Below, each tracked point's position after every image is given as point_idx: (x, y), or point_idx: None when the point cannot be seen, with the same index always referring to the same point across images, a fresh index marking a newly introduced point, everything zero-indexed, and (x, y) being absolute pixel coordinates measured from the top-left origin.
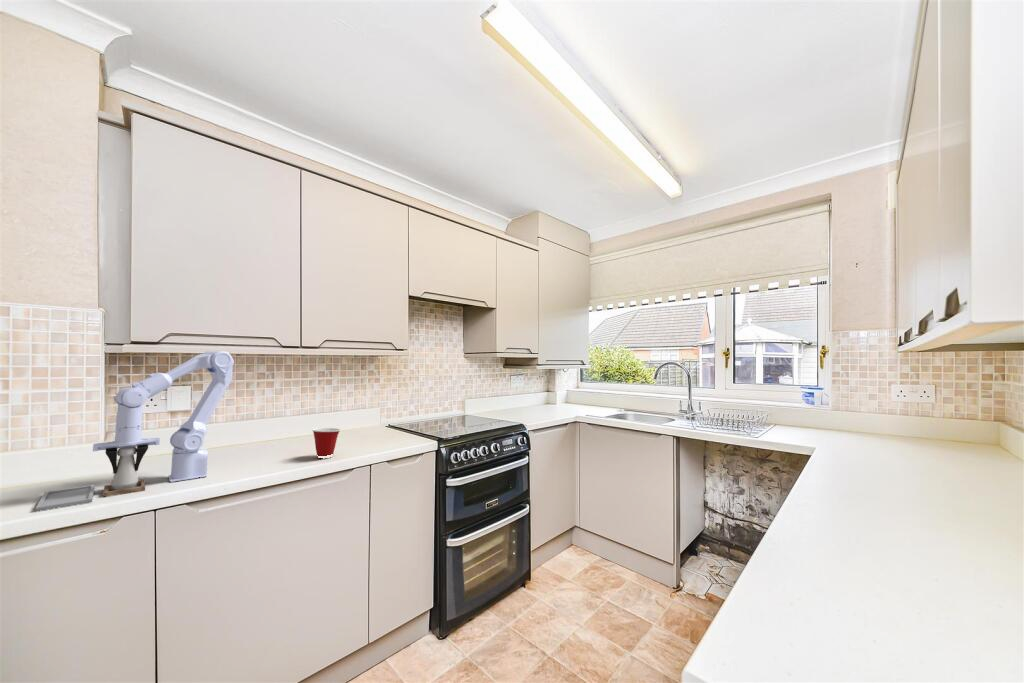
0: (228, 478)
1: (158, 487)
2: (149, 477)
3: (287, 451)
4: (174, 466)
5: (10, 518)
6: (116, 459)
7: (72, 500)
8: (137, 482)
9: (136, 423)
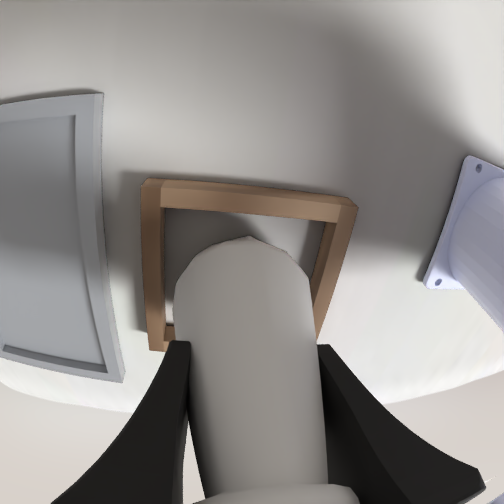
0: (500, 339)
1: (359, 326)
2: (407, 58)
3: None
4: (489, 301)
5: None
6: (181, 498)
7: (55, 324)
8: (318, 218)
9: None
